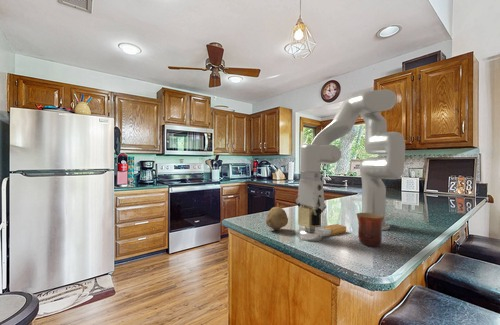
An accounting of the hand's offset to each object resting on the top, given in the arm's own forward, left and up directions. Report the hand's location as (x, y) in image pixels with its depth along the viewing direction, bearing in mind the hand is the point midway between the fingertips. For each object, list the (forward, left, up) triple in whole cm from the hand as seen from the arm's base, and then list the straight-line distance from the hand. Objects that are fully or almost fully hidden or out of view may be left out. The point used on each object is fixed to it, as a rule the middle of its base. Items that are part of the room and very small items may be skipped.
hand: (309, 222), depth 85 cm
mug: (-13, +16, -6) cm, 21 cm away
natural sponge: (+6, -13, -6) cm, 15 cm away
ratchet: (-7, 0, -6) cm, 9 cm away
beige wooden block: (0, 0, -1) cm, 1 cm away
